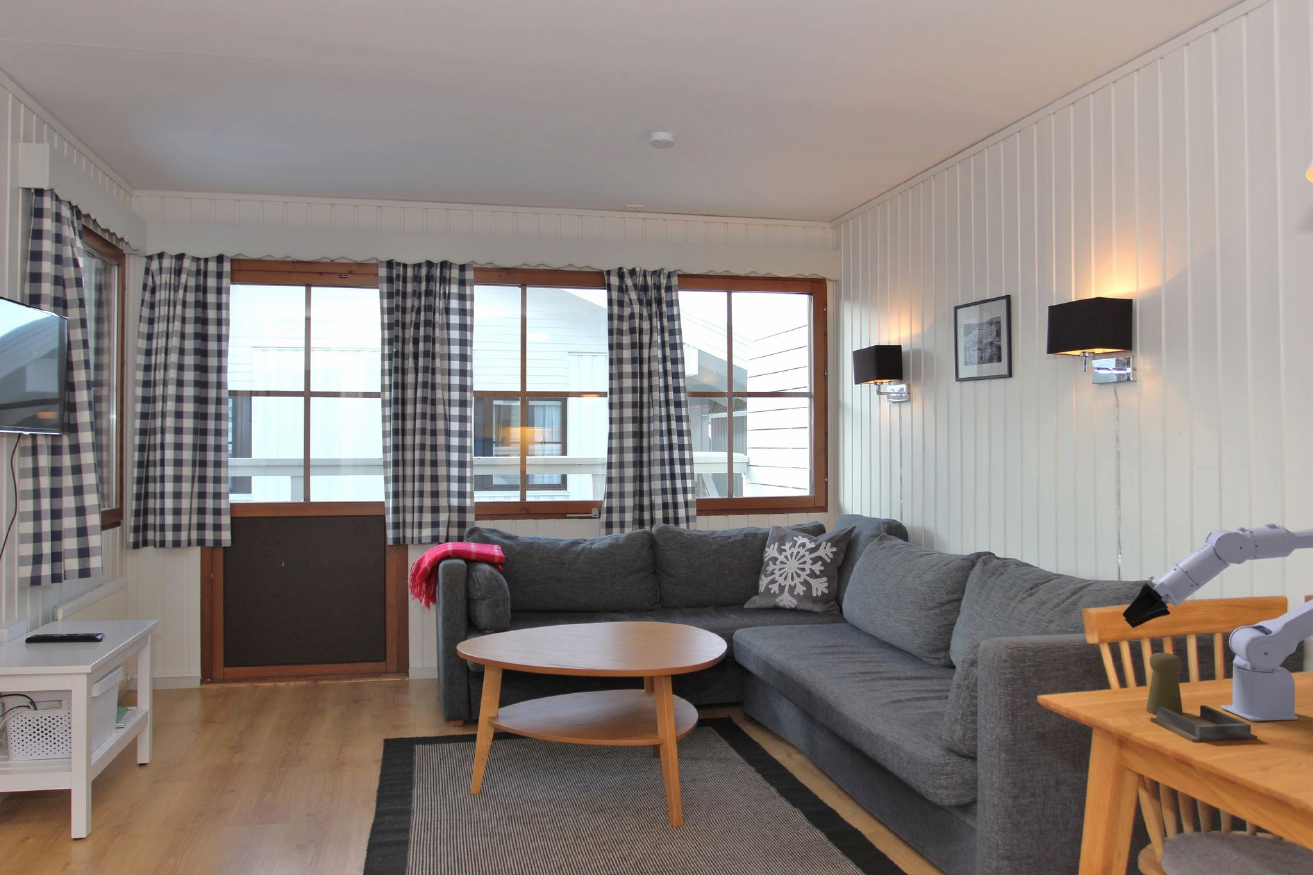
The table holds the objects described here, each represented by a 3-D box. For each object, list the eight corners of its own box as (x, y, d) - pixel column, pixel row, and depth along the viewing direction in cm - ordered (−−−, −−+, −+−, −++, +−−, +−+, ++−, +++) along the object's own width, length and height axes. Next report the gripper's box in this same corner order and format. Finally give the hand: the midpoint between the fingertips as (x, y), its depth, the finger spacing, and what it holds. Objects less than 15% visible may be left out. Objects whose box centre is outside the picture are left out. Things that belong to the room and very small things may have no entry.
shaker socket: (1211, 718, 167) (1211, 705, 167) (1257, 739, 156) (1257, 724, 156) (1150, 720, 166) (1150, 707, 166) (1192, 741, 155) (1192, 727, 155)
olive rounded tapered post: (1188, 718, 168) (1189, 658, 167) (1152, 715, 169) (1153, 656, 169) (1176, 708, 174) (1177, 650, 173) (1141, 706, 175) (1142, 648, 175)
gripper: (1171, 567, 181) (1114, 609, 183) (1169, 553, 169) (1108, 599, 171) (1199, 595, 177) (1141, 638, 180) (1199, 583, 165) (1137, 629, 168)
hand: (1127, 621), depth 175 cm, fingers open, 7 cm apart
